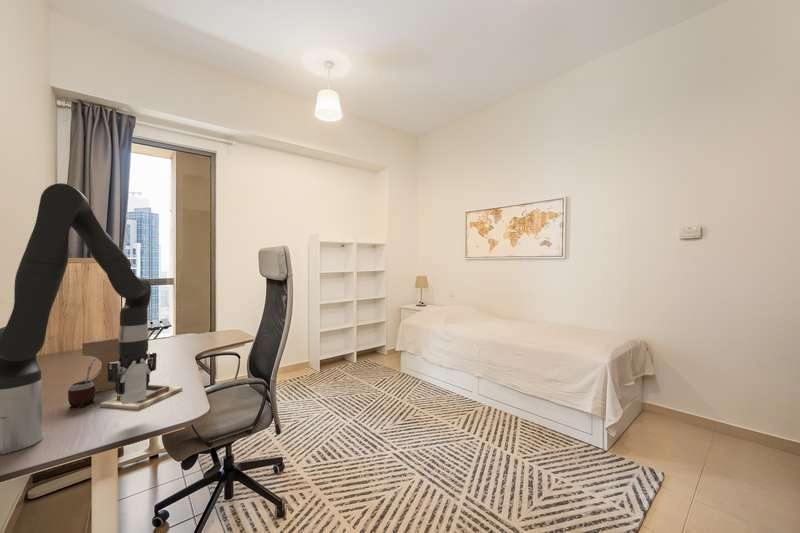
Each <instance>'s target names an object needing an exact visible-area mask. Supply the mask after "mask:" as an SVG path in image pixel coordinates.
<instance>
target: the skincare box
mask: <svg viewBox="0 0 800 533" xmlns="http://www.w3.org/2000/svg"><path fill="white" fill-rule="evenodd" d="M146 364H147V361H145V362H143V363H137V364H135V365H134V366H133V368H132V370H131V372H130V373H129V375H127V376H126V378H125V380H124V382H125V393H124V394H122V395H120V401H121V403H122V404H123V405H124V404H128V403H133V402H137V401H141V400H145V399H146ZM120 367H121V366H120ZM121 371H122V372H125V371H126V368H124V367H123V366H122V370H121Z"/></svg>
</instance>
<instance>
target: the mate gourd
mask: <svg viewBox="0 0 800 533" xmlns="http://www.w3.org/2000/svg"><path fill="white" fill-rule="evenodd" d="M95 361H96V359H95V358H94V359H93V360H92V361H91V362H90V364H89V366H88V368H87V374H86V378H85V379H86V381H83V380H82V381H78V382H74V383H73V384H71V385H70V386H69V388H68V391H67V400H68V403H69V405H70V406H69V409H75V408H79V406H80V409H84V408H85V406H87V405H91V404H95V401H94V400H95V397H96V393H95V385H94V383H93V382H92V381H88V378H89V376H90V372H91V370H92V366H93V365H94V362H95Z"/></svg>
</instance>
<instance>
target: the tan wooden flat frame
mask: <svg viewBox="0 0 800 533" xmlns="http://www.w3.org/2000/svg"><path fill="white" fill-rule="evenodd" d="M181 391H182V392H183V387H182V386H173V385H159V384H158V385H157V384H148V386H146V399H145V400H141V401H137V402H133V403H128V404H124V405H123V404H122V403H121V401H120V395H118V394H116V397H113V398H111V399H109V400H106V401H104V402H100V407H101V408H110V409H111V408H113V409H121V410H122V409H123V410H132V411H139V410H142V409H144V408H146V407H148V406H150V405H152V404H155V403H157V402H159V401H162V400H163V399H166V398H168V397H171V396H172V395H175V394H177V393H179V392H181Z"/></svg>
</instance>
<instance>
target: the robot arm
mask: <svg viewBox="0 0 800 533" xmlns="http://www.w3.org/2000/svg"><path fill="white" fill-rule="evenodd" d="M37 210H38V211H37V216H36V219H35V223H34V226H33V230H32V232H31V234H30V237H29V239H28V242H27V245H26V247H25V250H24V253H23V255H22V257H21V260H20V261H19V265H18V268H17V270H16V274H15V278H14V288H13V289H14V290H13V292H14V299H13V300H14V301H13V307H12V311H11V313H10V316H9V319H8V321H7V323H6V325H5V326H3V327H0V455H2V454H4V455H6V453H7V454H9V453H12V452H15V451H16V452H17V451H19V450H24V449H27V448H29V447H31V446H33V445H36V444H37V443H39V442H41V441H42V439H43V437H44V436H43V434H44V433H43V432H44V431H43V430H44V428H43V399H42V398H43V395H42V394H43V393H42V392H43V391H42V386H43V385H42V370H41V367H40V365H39V364H38V359H37V354H38V353H39V352H40V351H41V350H42V348H43V347H44V344H45V342H46V336H47V331H48V330H47V329H48V326H49V325H48V324H49V318H50V315H51V311H52V309H53V305H54V303H55V301H56V298H57V296H58V292H59V290H60V288H61V285H62V284H61V283H62V281H63V278H64V275H65V273H66V269H67V267H68V262H69V256H70V254H69V253H70V252H69V251H70V248H69V247H70V246H69V236H70V230H71V228H72V229H73V230H74V231H75V232H76V233H77V235H78V236H79V237H80V238H81V240H82V242H83V243H84V245H85V247H86V248H87V250H88V252H89V253H90V255H91V256H92V257H93V260H95V261H96V263H97V265H99V267H100V268H101V269H102V271H103V272H104V273H105V274H106V276H107V278H108V281H109V282H110V284H111V287H112V288H113V290H114V291H115V293H117V295H118V296H119V297H121V298H123V299H124V306H123V307H122V308H121V309H120V312H119V329H118V336H117V337H118V354H119V356H120V358H119V360H118V361H117V362H114V363H108V364H107V370H108V382H114V383H115V393H116V395H122V394H124V393H125V382H124V380H125V378H126V376H127V375H129V373H130V372H131V370H132V368H133V366H134V365H135V364H137V363H143V362H146V386H148V385H150V379H151V377H150V376H151V373H152V372H153V371H154V372H155V371H156V370H157V353H156V352H148V351H149V327H148V326H149V325H148V320H149V319H148V314H149V312H148V308H149V305H150V300H151V294H152V285H151V283H150V281H149V279H147V278H145V277H142V276H137V275H136V274H135V272H134V271H133V270H132V263H131V261H130V259H129V258H128V257H127V255H126V254H125V253H124V252H123V250H122V249H121V247H119V245H117V242H115V241H114V239H113V238H112V237H111V236H110V234H108V233H107V232H106V230H105V229H104V228H103V226H102V224H101V223H100V222H99V220H98V219H97V217H96V215H95V213H94V211H93V209H92V207H91V205H90V202H89V199H88V198H87V197H86V196H85V195H84V194H83V193H82V192H81V191H80V190H78V188H76V187H74V186H73V185H71V184H67V183H61V182H59V183H54V184H51V185H49V186H48V187H46V188H45V189H44V190H43V192H42V193H41V195H40V199H39V205H38V209H37ZM119 365H120V366H121V367H120V368H119ZM122 366H123V367H124V368H126V371H125V372H122V371H121V370H122ZM118 368H119V370H118Z"/></svg>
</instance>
